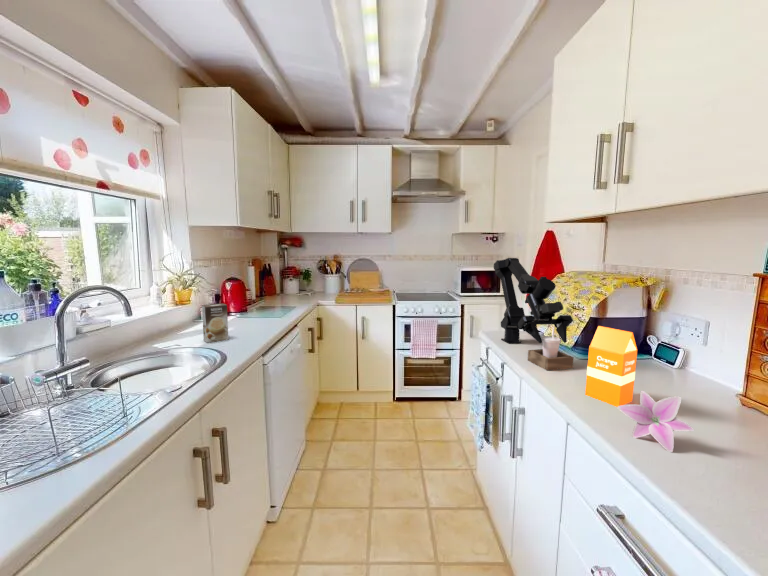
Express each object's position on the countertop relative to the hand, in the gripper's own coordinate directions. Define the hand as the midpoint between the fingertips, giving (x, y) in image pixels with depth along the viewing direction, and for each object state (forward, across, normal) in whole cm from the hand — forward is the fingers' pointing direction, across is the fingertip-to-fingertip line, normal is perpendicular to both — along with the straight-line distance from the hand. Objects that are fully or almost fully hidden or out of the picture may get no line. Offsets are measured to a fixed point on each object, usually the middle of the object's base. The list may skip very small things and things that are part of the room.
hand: (553, 342), depth 118 cm
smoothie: (+5, 0, +7) cm, 9 cm away
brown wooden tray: (+5, 0, +7) cm, 9 cm away
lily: (+38, -4, -26) cm, 46 cm away
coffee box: (-24, -133, +37) cm, 140 cm away
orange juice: (+24, +1, -12) cm, 27 cm away
